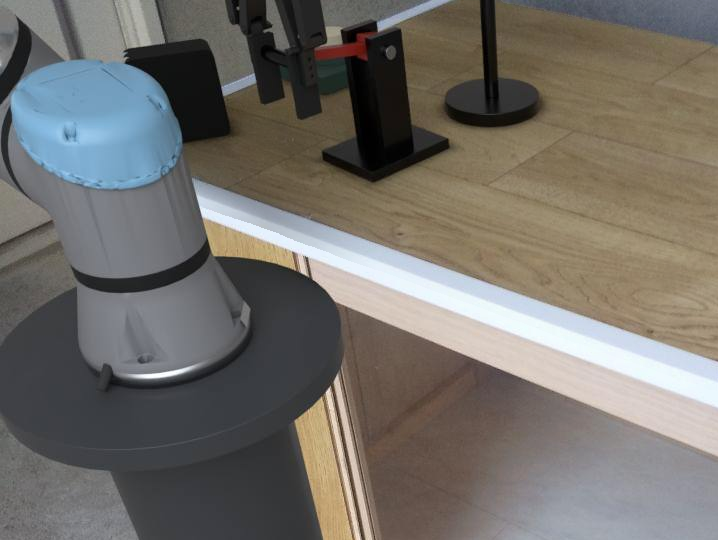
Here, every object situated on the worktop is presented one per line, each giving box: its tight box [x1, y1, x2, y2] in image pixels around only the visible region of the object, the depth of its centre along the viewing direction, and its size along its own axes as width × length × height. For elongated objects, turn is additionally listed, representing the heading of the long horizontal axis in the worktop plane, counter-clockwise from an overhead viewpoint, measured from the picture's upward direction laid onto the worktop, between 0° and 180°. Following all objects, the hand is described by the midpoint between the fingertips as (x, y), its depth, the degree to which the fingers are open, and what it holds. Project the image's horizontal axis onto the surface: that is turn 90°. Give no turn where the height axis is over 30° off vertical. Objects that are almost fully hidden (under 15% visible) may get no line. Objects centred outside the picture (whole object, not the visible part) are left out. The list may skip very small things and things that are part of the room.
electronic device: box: [121, 38, 232, 143], centre depth 118 cm, size 4×10×10 cm, turn 112°
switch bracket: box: [321, 18, 450, 183], centre depth 112 cm, size 12×9×14 cm
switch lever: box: [261, 31, 380, 68], centre depth 104 cm, size 14×6×2 cm, turn 138°
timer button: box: [318, 25, 344, 47], centre depth 132 cm, size 4×4×2 cm
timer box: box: [279, 57, 349, 96], centre depth 134 cm, size 12×10×4 cm
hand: (291, 107), depth 104 cm, fingers closed on switch lever, 5 cm apart
